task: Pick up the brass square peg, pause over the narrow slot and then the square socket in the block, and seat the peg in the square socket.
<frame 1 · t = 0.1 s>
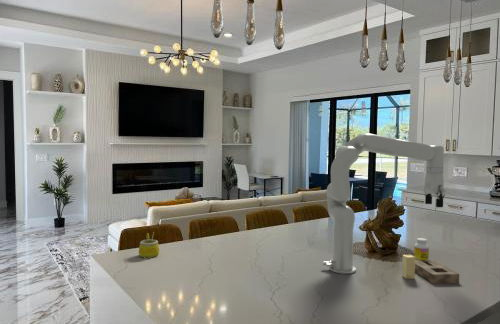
hand: (433, 205, 186), 31 cm above the kitchen island, tool pointing down, fingers open, 9 cm apart
peg: (408, 277, 174), on the kitchen island
yellow pot: (150, 255, 208), on the kitchen island
supplement bottle: (421, 264, 194), on the kitchen island
socket block: (433, 275, 177), on the kitchen island
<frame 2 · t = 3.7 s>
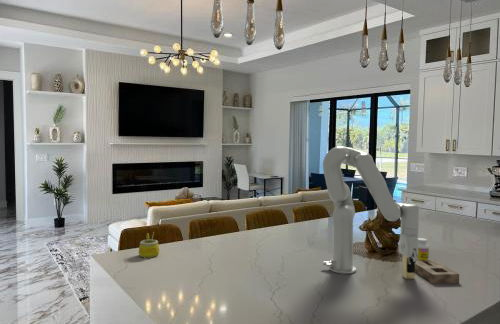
hand: (408, 270, 174), 3 cm above the kitchen island, tool pointing down, fingers closed on peg, 4 cm apart
peg: (408, 277, 174), on the kitchen island, touching gripper
everything else where it was.
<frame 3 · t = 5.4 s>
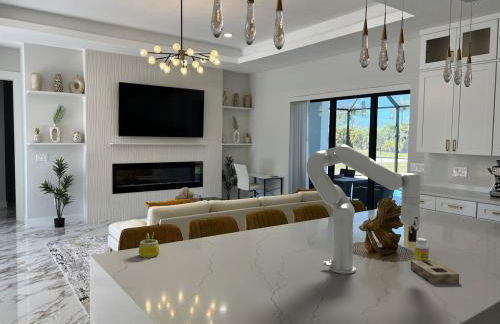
hand: (410, 239, 174), 17 cm above the kitchen island, tool pointing down, fingers closed on peg, 4 cm apart
peg: (409, 247, 174), point 14 cm above the kitchen island, touching gripper
everything else where it was.
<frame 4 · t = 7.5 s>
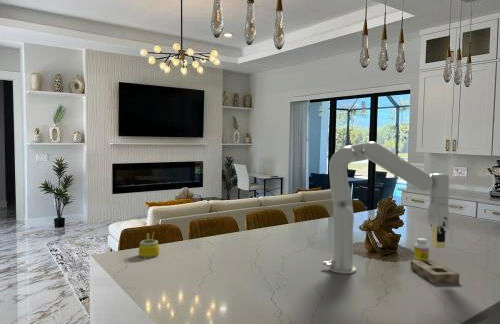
hand: (438, 240, 173), 17 cm above the kitchen island, tool pointing down, fingers closed on peg, 4 cm apart
peg: (438, 247, 173), point 14 cm above the kitchen island, touching gripper
everything else where it was.
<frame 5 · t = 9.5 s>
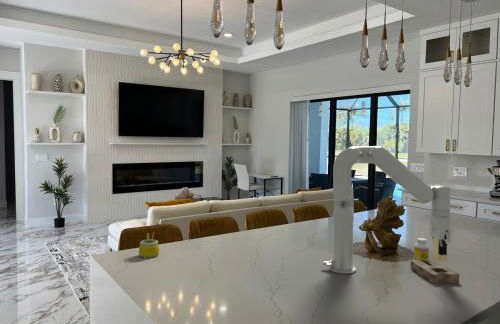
hand: (439, 252, 172), 12 cm above the kitchen island, tool pointing down, fingers closed on peg, 4 cm apart
peg: (439, 260, 172), point 9 cm above the kitchen island, touching gripper
everything else where it was.
when the fingers open (5 cm above the kitchen island, at t = 11.4 s): peg drops 1 cm, resting in socket block.
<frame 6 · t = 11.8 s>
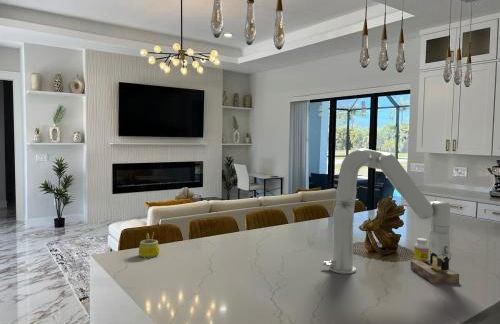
hand: (439, 266, 172), 6 cm above the kitchen island, tool pointing down, fingers open, 8 cm apart
peg: (438, 278, 172), resting in socket block
everything else where it was.
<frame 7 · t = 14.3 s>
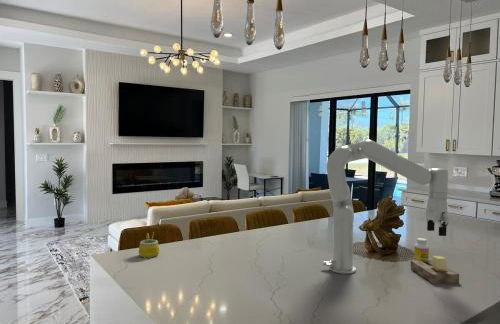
hand: (436, 233, 173), 21 cm above the kitchen island, tool pointing down, fingers open, 9 cm apart
nothing on the kitchen island moved.
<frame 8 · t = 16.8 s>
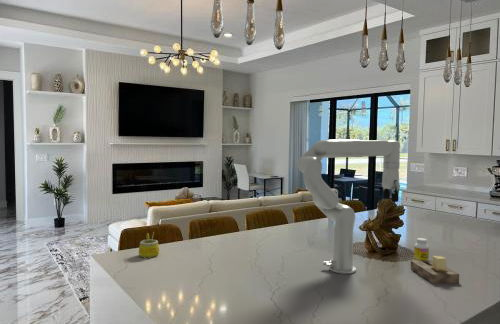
hand: (390, 200, 188), 33 cm above the kitchen island, tool pointing down, fingers open, 9 cm apart
nothing on the kitchen island moved.
at the end: peg 0.1 cm from the target spot on the socket block, point 0.0 cm above the socket block's base; peg tilted 0°; the gripper is holding nothing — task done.
